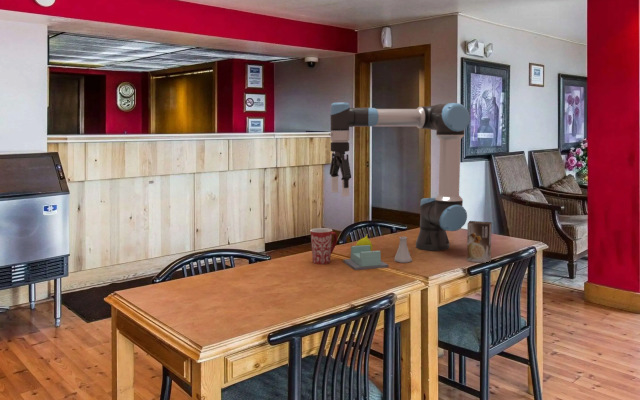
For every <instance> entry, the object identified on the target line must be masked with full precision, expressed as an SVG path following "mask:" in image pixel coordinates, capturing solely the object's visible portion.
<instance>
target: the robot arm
mask: <svg viewBox="0 0 640 400" xmlns="http://www.w3.org/2000/svg"><path fill="white" fill-rule="evenodd" d="M329 111H330V113H329V115H330V116H329V117H330V133H329V136H330V141H331V142H330V152H332V153H331V161H330V169H329V175H330V178H331V181H330V182H331V187H330V188H331V189H330V190H331V193H333V194H334V193H339V177H340V175H339V170H340V173H341V196H342V197H350V179H352V172H351V168H350V167H351V166H350V162H349V161H350V159H349V154H347V153H346V152H349V151H350V143H349V141H350V128H353V127H357V128H359V127H360V128H362V127H366V128H367V127H369V128H370V127H416V128H417V129H423V130H432V131H436V133H435V135H436V137H437V138H438V139H439V161H438V163H439V165H438V167H439V168H438V169H439V171H438V195H437V196H436V197H426V198H425V197H423V198H421V200H420V203H419V204H420V205H419V208H420V209H419V211H420V213H419V232H418V236H417V237H416V241H415V247H416V248H417V249H418V250H423V251H432V252H433V251H438V252H439V251H446V250H449V249H450V240H449V237H448V234H447V232H456V231H459V230H461V229H462V228H463V227H464V226H465V225H466V223H467V221H468V220H467V219H468V214H467V210H466V209H465V207H464V206H463V201H464V200H463V198H462V197H461V196H460V176H461V175H460V174H461V172H460V171H461V170H460V169H461V139H462V138H463V137H464V136H465V129H467V127H468V126H469V125H470V121H471V117H470V112H469V110H468V109H467V108H466V106H464V105H463V104H461V103H457V102H449V103H448V102H447V103H439V104H434V105H428V106H418V107H417V108H375V107H351V106H350V103H349V102H332V103H331V104H330V110H329Z"/></svg>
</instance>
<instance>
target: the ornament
mask: <svg viewBox="0 0 640 400" xmlns="http://www.w3.org/2000/svg"><path fill="white" fill-rule="evenodd" d="M368 232H369V231H367V233H366V234H365V237H362V238H360V239H359V240H358V241H357V242H356V244H355V246H363V245H370V251H373V243H372V241H371V240H370V238H369V237H368V235H369V233H368Z"/></svg>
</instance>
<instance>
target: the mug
mask: <svg viewBox="0 0 640 400" xmlns="http://www.w3.org/2000/svg"><path fill="white" fill-rule="evenodd" d="M309 231H310V241H311V253H312V255H311V257H312V263H313V264H316V265H326V264H330V263H331V258H332V256H331V255H332V253H333V252H334V249H335V248H336V245H337V242H338V235H337V232H335V231H333V229H331V228H327V227H317V228H311V229H310V230H309ZM332 236H333V240H332ZM332 241H333V242H332Z"/></svg>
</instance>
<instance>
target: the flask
mask: <svg viewBox="0 0 640 400" xmlns="http://www.w3.org/2000/svg"><path fill="white" fill-rule="evenodd" d="M398 237H399V245H398V248H397V251H396V254H395V255H394V259H393V261H394V262H397V263H410V262H413V259H412V257H411V254H410V251H409V249H408V242H407V241H408V237H407V236H398Z"/></svg>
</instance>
